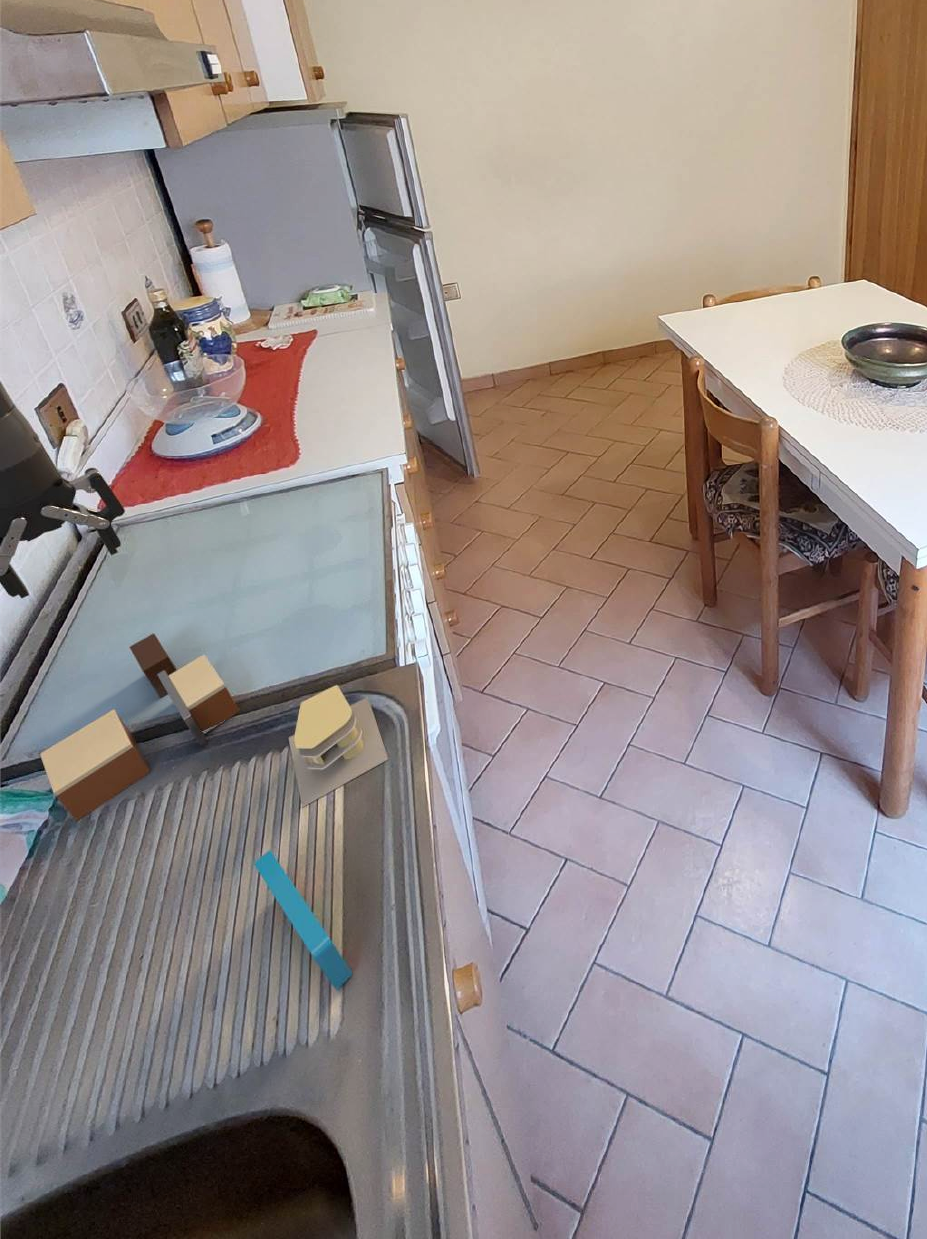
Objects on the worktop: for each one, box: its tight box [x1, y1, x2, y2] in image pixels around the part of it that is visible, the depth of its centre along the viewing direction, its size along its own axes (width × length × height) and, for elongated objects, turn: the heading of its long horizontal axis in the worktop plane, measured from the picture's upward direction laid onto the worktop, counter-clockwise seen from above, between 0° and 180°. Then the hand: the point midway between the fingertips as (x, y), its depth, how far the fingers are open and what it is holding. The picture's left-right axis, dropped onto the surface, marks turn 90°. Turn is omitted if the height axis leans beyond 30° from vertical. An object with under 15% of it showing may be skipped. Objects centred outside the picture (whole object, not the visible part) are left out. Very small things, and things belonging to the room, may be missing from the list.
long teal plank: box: [253, 849, 353, 991], centre depth 64 cm, size 12×2×6 cm, turn 50°
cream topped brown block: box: [168, 654, 240, 731], centre depth 87 cm, size 4×7×5 cm, turn 48°
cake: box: [39, 709, 152, 821], centre depth 80 cm, size 7×7×5 cm
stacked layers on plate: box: [288, 684, 389, 808], centre depth 80 cm, size 10×9×6 cm
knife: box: [129, 632, 209, 748], centre depth 88 cm, size 3×18×5 cm, turn 48°
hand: (70, 572), depth 83 cm, fingers open, 8 cm apart
